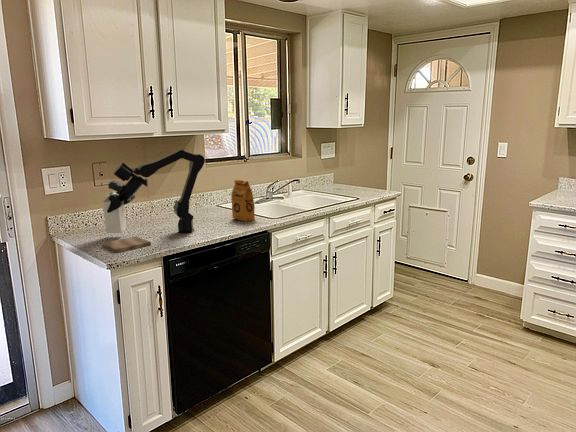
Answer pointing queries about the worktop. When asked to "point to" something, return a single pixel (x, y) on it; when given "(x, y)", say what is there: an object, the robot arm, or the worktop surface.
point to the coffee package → (242, 201)
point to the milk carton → (114, 217)
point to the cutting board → (126, 244)
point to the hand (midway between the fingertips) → (111, 210)
